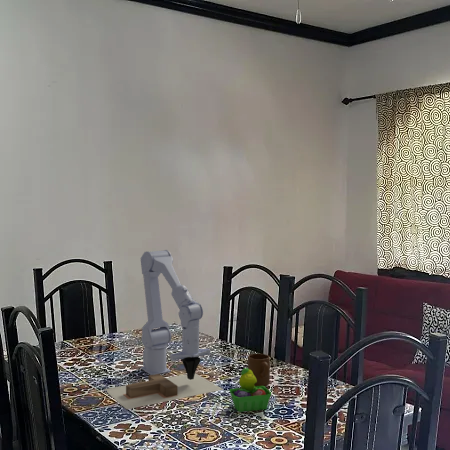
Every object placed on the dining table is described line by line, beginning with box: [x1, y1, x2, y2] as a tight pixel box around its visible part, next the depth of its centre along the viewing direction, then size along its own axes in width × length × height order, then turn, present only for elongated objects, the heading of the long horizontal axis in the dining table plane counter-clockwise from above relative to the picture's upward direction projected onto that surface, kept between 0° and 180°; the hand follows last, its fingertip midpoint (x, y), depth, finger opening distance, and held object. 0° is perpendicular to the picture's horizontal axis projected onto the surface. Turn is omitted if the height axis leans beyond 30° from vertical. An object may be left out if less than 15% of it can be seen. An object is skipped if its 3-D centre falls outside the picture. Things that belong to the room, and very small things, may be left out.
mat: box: [103, 372, 224, 410], centre depth 188 cm, size 20×34×1 cm, turn 121°
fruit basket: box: [229, 367, 272, 413], centre depth 173 cm, size 11×9×11 cm
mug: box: [247, 353, 271, 387], centre depth 192 cm, size 12×8×9 cm, turn 16°
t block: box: [125, 374, 178, 398], centre depth 185 cm, size 14×14×3 cm
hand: (190, 378), depth 193 cm, fingers closed
